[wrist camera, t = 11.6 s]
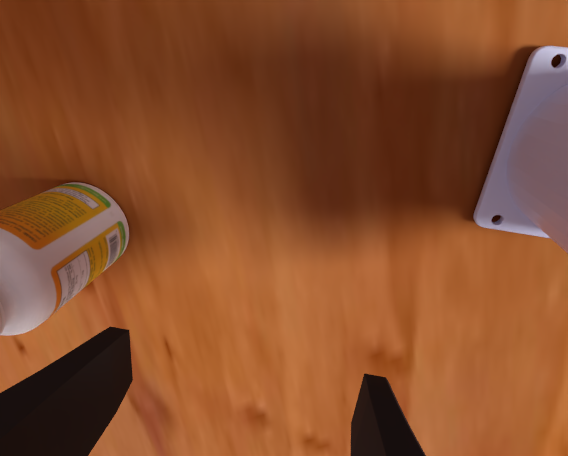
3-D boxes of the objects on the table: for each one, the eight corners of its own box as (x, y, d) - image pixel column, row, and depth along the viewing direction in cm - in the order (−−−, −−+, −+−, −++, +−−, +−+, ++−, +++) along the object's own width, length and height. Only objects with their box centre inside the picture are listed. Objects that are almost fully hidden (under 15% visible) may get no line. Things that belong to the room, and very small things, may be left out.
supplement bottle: (32, 198, 23) (-170, 284, 14) (98, 166, 21) (-82, 241, 12) (82, 272, 24) (-69, 390, 16) (148, 247, 23) (20, 364, 14)
